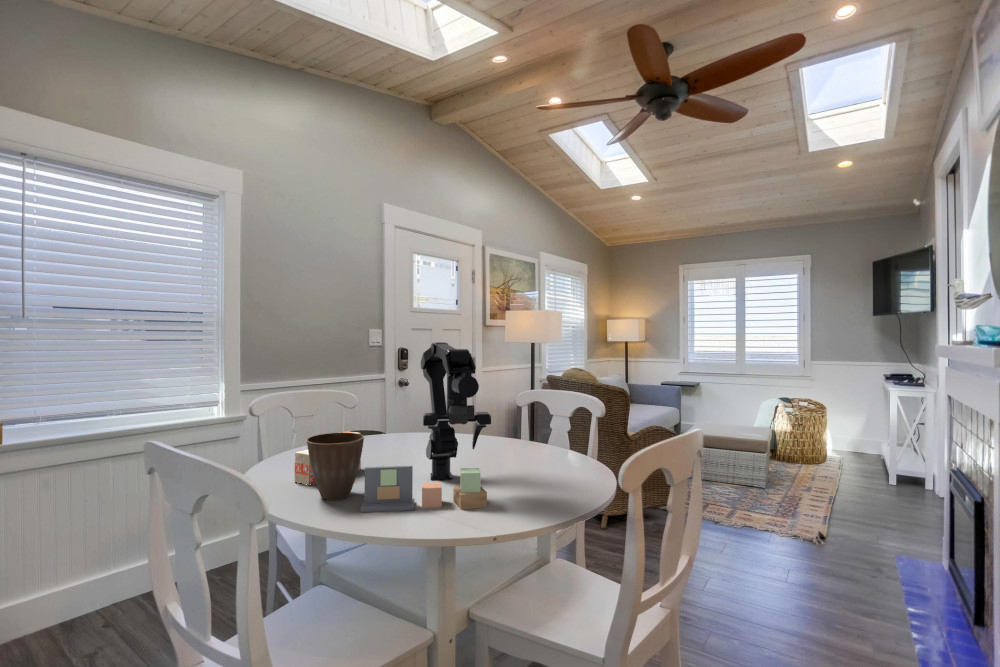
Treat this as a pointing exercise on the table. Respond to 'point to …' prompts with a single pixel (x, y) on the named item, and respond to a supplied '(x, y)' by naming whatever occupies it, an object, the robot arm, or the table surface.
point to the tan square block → (469, 498)
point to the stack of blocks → (307, 467)
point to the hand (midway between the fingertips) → (456, 449)
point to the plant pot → (335, 462)
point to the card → (388, 489)
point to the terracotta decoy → (431, 494)
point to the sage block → (470, 480)
